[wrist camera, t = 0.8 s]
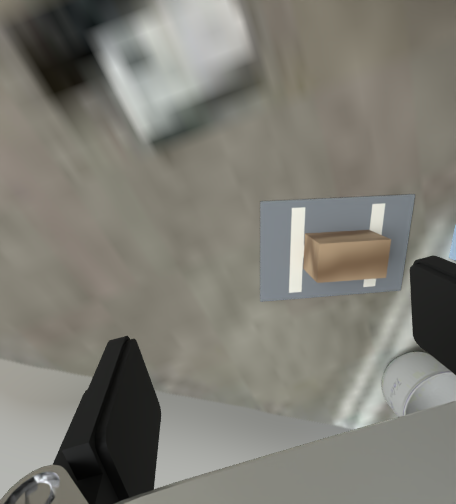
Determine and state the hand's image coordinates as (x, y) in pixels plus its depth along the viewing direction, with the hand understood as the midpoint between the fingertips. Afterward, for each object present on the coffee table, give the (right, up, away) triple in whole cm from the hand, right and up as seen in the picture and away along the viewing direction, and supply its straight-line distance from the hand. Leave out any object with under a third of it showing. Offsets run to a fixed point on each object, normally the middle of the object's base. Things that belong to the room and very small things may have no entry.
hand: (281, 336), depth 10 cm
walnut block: (+13, +3, +33) cm, 36 cm away
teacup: (+28, -18, +42) cm, 53 cm away
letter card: (+13, +3, +33) cm, 36 cm away
